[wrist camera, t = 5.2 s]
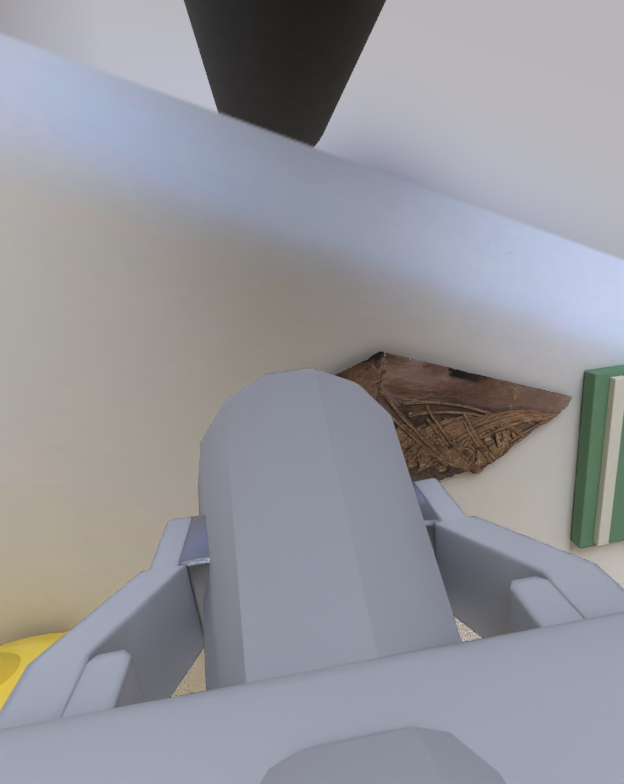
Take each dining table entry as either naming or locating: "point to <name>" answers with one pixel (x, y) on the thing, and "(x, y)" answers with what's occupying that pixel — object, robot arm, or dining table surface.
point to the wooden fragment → (452, 413)
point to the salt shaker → (322, 564)
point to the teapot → (20, 659)
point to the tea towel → (600, 460)
